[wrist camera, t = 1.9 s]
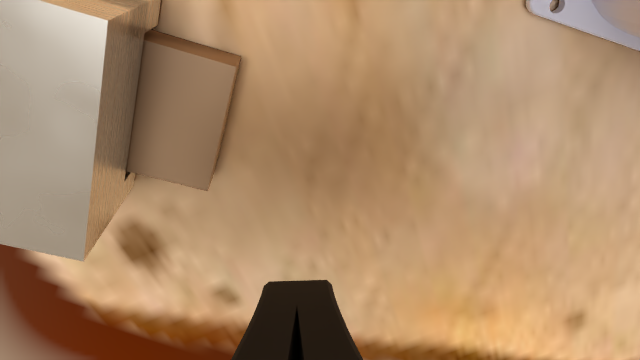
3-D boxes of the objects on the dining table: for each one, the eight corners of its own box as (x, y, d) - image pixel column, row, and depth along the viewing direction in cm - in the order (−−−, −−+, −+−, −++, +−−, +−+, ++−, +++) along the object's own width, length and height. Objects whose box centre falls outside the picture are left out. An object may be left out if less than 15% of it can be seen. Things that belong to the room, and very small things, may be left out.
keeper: (161, -5, 16) (107, 20, 12) (133, 185, 19) (83, 261, 15) (36, -44, 15) (-72, -33, 11) (29, 160, 19) (-55, 232, 14)
